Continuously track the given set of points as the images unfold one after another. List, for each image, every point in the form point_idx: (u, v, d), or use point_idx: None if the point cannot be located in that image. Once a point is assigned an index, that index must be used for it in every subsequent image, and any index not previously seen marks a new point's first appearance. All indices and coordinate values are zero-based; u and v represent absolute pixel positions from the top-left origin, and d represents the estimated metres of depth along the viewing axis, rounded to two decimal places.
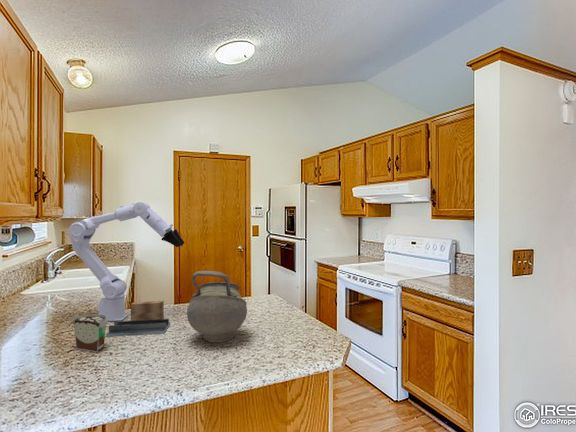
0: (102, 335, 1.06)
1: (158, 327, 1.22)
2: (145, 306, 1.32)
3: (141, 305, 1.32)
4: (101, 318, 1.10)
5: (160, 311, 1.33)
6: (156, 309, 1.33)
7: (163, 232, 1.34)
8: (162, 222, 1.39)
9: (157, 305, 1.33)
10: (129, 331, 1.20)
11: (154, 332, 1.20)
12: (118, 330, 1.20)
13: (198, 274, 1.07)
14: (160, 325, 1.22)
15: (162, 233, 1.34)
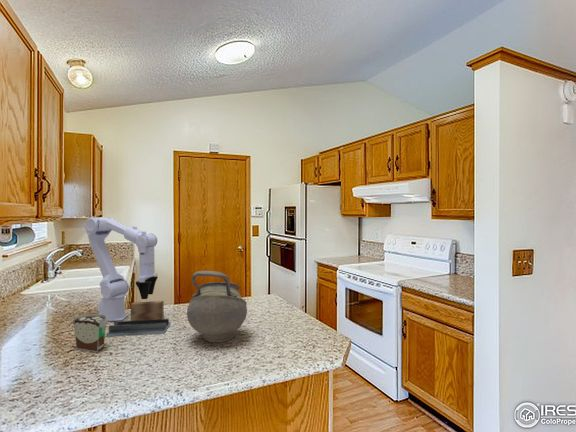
0: (102, 335, 1.06)
1: (158, 327, 1.22)
2: (145, 306, 1.32)
3: (141, 305, 1.32)
4: (101, 318, 1.10)
5: (160, 311, 1.33)
6: (156, 309, 1.33)
7: (142, 280, 1.27)
8: (151, 267, 1.32)
9: (157, 305, 1.33)
10: (129, 331, 1.20)
11: (154, 332, 1.20)
12: (118, 330, 1.20)
13: (198, 274, 1.07)
14: (160, 325, 1.22)
15: (140, 280, 1.27)
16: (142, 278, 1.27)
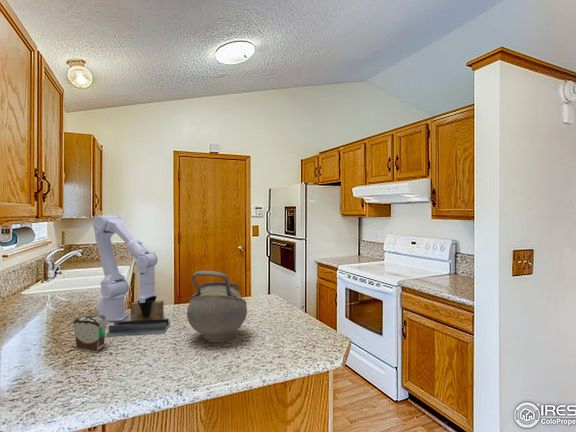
0: (102, 335, 1.06)
1: (158, 327, 1.22)
2: None
3: None
4: (101, 318, 1.10)
5: (160, 311, 1.33)
6: (156, 309, 1.33)
7: (142, 300, 1.27)
8: (151, 287, 1.32)
9: (157, 305, 1.33)
10: (129, 331, 1.20)
11: (154, 332, 1.20)
12: (118, 330, 1.20)
13: (198, 274, 1.07)
14: (160, 325, 1.22)
15: (141, 300, 1.27)
16: (142, 298, 1.27)
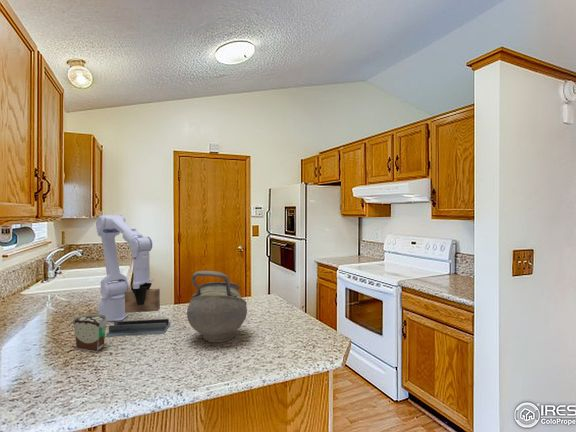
0: (102, 335, 1.06)
1: (158, 327, 1.22)
2: None
3: None
4: (101, 318, 1.10)
5: (156, 299, 1.26)
6: (152, 297, 1.26)
7: (136, 286, 1.19)
8: (146, 272, 1.25)
9: (153, 293, 1.26)
10: (129, 331, 1.20)
11: (154, 332, 1.20)
12: (118, 330, 1.20)
13: (198, 274, 1.07)
14: (160, 325, 1.22)
15: (134, 286, 1.19)
16: (136, 284, 1.19)
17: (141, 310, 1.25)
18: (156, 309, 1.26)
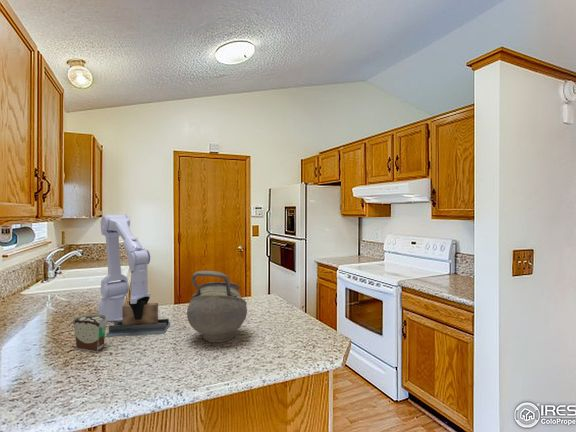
0: (102, 335, 1.06)
1: (158, 327, 1.22)
2: None
3: None
4: (101, 318, 1.10)
5: (154, 314, 1.23)
6: (150, 312, 1.23)
7: (133, 301, 1.17)
8: (144, 286, 1.22)
9: (151, 308, 1.23)
10: (129, 331, 1.20)
11: (154, 332, 1.20)
12: (118, 330, 1.20)
13: (198, 274, 1.07)
14: (160, 325, 1.22)
15: (132, 301, 1.17)
16: (134, 299, 1.17)
17: None
18: None
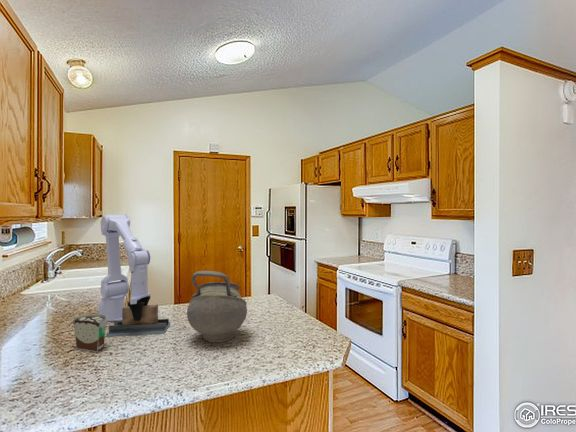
0: (102, 335, 1.06)
1: (158, 327, 1.22)
2: None
3: None
4: (101, 318, 1.10)
5: (154, 316, 1.23)
6: (150, 314, 1.23)
7: (133, 301, 1.17)
8: (144, 286, 1.22)
9: (151, 310, 1.23)
10: (129, 331, 1.20)
11: (154, 332, 1.20)
12: (118, 330, 1.20)
13: (198, 274, 1.07)
14: (160, 325, 1.22)
15: (132, 301, 1.17)
16: (134, 299, 1.17)
17: None
18: None
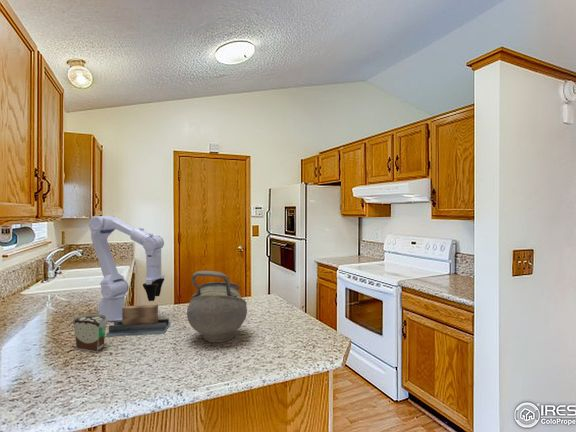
0: (102, 335, 1.06)
1: (158, 327, 1.22)
2: (138, 310, 1.22)
3: (133, 309, 1.22)
4: (101, 318, 1.10)
5: (154, 316, 1.23)
6: (150, 314, 1.23)
7: (149, 282, 1.27)
8: (158, 269, 1.33)
9: (151, 310, 1.23)
10: (129, 331, 1.20)
11: (154, 332, 1.20)
12: (118, 330, 1.20)
13: (198, 274, 1.07)
14: (160, 325, 1.22)
15: (147, 282, 1.27)
16: (149, 280, 1.27)
17: None
18: None
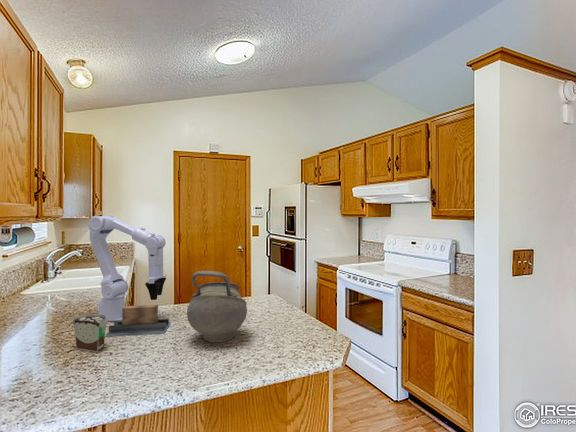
0: (102, 335, 1.06)
1: (158, 327, 1.22)
2: (138, 310, 1.22)
3: (133, 309, 1.22)
4: (101, 318, 1.10)
5: (154, 316, 1.23)
6: (150, 314, 1.23)
7: (151, 281, 1.29)
8: (160, 268, 1.35)
9: (151, 310, 1.23)
10: (129, 331, 1.20)
11: (154, 332, 1.20)
12: (118, 330, 1.20)
13: (198, 274, 1.07)
14: (160, 325, 1.22)
15: (150, 281, 1.29)
16: (152, 279, 1.29)
17: None
18: None
